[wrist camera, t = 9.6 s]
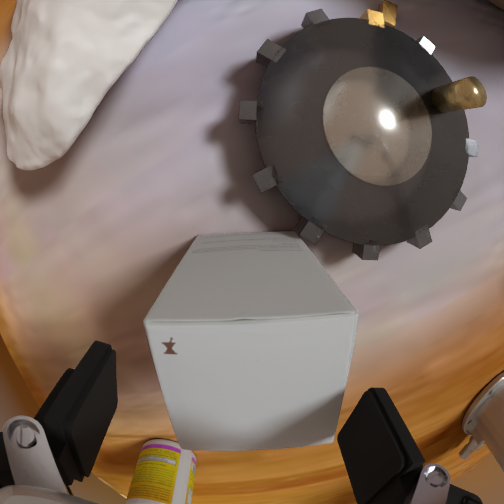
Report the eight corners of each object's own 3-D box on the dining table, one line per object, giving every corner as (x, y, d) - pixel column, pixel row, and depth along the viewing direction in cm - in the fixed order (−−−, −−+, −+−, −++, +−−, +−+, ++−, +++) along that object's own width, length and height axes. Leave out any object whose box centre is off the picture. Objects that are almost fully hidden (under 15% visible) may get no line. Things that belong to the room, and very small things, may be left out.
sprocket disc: (484, 193, 20) (532, 204, 14) (312, 293, 22) (333, 335, 16) (398, 2, 15) (432, -29, 9) (193, 71, 17) (173, 37, 11)
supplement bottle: (131, 443, 28) (104, 527, 16) (169, 430, 27) (147, 529, 15) (169, 470, 30) (154, 550, 17) (208, 460, 29) (200, 550, 16)
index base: (387, 171, 20) (393, 171, 19) (326, 150, 20) (330, 149, 19) (411, 19, 16) (416, 15, 15) (358, -5, 16) (362, -10, 15)
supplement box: (204, 323, 23) (174, 452, 11) (196, 232, 21) (135, 316, 9) (297, 321, 23) (334, 447, 11) (299, 229, 21) (363, 309, 9)
